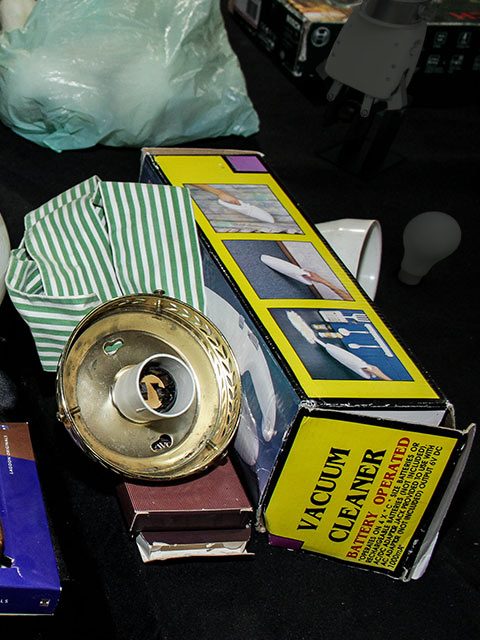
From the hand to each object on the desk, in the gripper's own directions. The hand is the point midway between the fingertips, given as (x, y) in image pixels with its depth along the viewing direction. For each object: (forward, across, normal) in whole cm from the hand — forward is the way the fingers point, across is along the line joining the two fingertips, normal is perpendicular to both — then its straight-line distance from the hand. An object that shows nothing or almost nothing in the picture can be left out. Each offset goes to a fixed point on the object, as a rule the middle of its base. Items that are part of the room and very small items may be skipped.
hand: (341, 129), depth 125 cm
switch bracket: (+9, 0, -10) cm, 13 cm away
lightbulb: (+9, -21, +11) cm, 26 cm away
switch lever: (0, 0, -5) cm, 5 cm away
